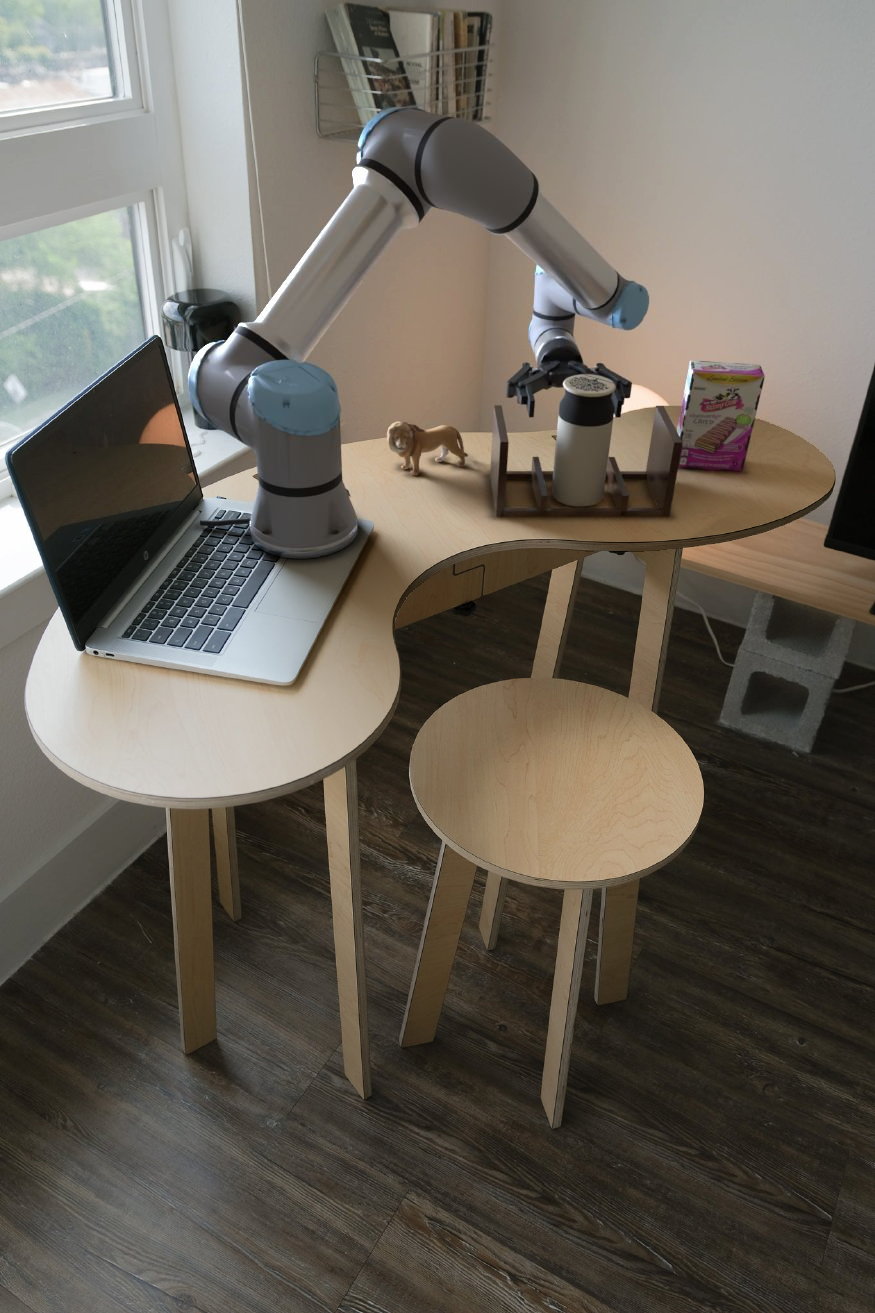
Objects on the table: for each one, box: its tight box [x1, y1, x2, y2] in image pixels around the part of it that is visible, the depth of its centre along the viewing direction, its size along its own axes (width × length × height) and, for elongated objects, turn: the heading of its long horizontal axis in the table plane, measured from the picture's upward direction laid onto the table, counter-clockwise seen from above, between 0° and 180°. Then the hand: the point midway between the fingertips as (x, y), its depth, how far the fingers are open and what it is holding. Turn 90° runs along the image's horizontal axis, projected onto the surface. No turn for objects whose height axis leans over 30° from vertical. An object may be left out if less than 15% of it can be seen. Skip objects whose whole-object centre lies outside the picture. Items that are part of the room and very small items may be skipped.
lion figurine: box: [386, 420, 469, 476], centre depth 158 cm, size 15×5×9 cm, turn 121°
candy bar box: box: [676, 360, 766, 472], centre depth 159 cm, size 11×5×16 cm, turn 84°
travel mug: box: [550, 374, 616, 508], centre depth 149 cm, size 8×8×18 cm
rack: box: [489, 404, 683, 518], centre depth 151 cm, size 26×13×12 cm, turn 92°
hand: (575, 409), depth 155 cm, fingers open, 13 cm apart
